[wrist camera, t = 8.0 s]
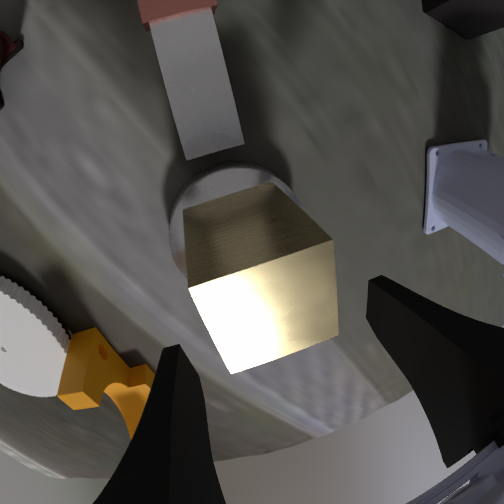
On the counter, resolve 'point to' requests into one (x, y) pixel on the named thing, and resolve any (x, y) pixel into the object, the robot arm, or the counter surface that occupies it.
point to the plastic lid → (29, 343)
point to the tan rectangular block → (260, 275)
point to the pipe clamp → (103, 378)
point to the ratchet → (199, 106)
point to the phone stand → (467, 15)
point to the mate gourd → (8, 53)
